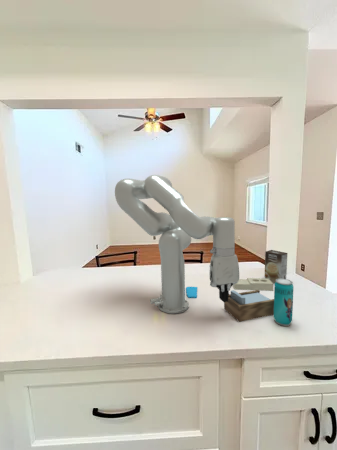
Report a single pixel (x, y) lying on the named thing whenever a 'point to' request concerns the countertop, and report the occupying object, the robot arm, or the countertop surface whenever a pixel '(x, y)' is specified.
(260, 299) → the cover plate
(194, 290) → the sponge
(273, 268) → the coffee box
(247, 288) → the electrical outlet
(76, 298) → the countertop surface
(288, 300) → the beverage can
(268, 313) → the walnut box
